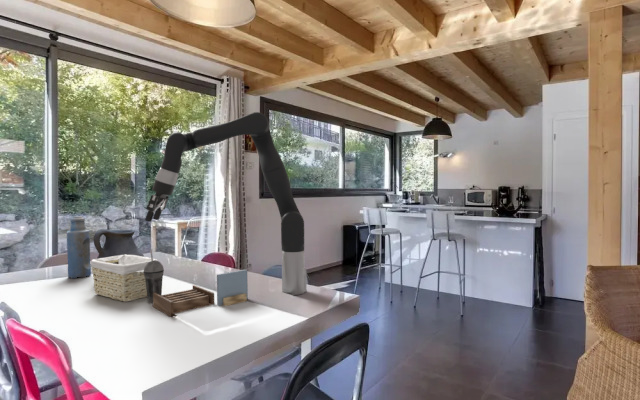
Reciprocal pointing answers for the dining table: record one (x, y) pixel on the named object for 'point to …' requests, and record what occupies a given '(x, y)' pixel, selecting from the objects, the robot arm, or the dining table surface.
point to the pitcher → (116, 243)
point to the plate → (231, 285)
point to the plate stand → (234, 299)
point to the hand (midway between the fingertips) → (152, 220)
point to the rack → (183, 300)
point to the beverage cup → (153, 278)
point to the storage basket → (120, 277)
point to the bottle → (78, 249)
